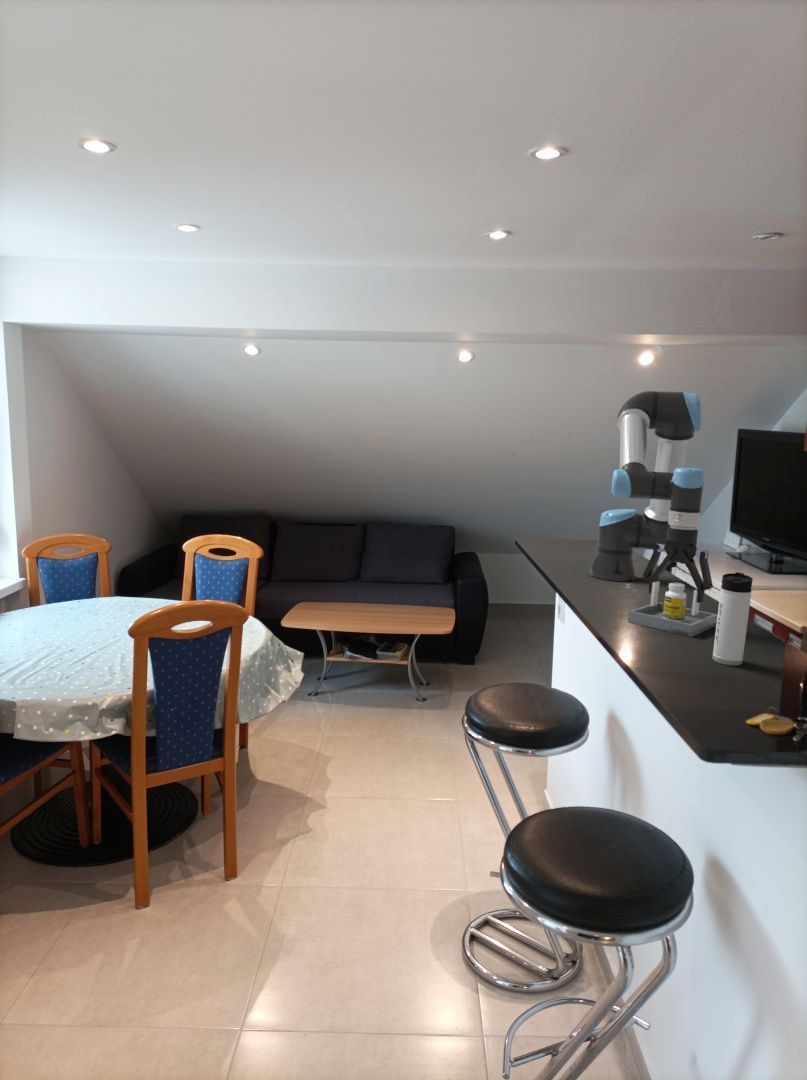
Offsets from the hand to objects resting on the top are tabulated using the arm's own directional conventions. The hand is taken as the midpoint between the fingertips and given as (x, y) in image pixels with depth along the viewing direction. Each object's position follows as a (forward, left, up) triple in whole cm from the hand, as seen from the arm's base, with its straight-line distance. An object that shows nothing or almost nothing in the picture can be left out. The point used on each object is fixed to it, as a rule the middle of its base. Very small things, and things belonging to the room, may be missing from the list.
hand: (673, 609), depth 199 cm
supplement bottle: (0, 0, -3) cm, 3 cm away
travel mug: (+21, +22, -4) cm, 31 cm away
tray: (0, 0, -4) cm, 4 cm away
